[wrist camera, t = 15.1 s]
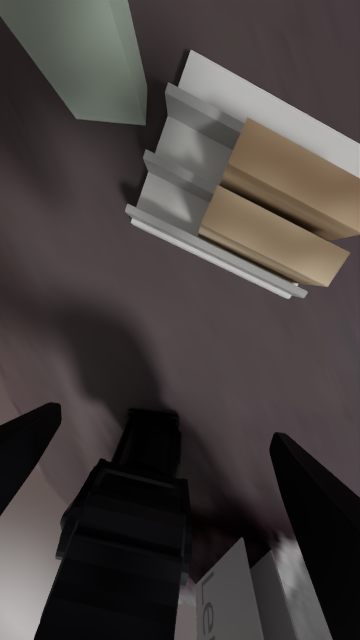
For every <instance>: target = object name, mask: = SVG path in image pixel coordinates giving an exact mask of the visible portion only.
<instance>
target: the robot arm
mask: <svg viewBox="0 0 360 640" xmlns="http://www.w3.org/2000/svg"><path fill="white" fill-rule="evenodd" d="M130 413H132V414H130ZM175 419H176V420H175ZM61 420H62V417H61V405H60V404H59V403H53V402H50V403H47V404H45V405H43V406H41V407H38V408H36V409H34V410H32V411H30V412H28V413H26V414H24V415H21V416H19V417H17V418H15V419H13V420H11V421H9V422H7V423H5V424H2V425H0V516H1V514H2V513H3V511H4V510H5V508H6V507H7V506H8V504H9V503H10V501H11V500H12V499H13V497H14V496H15V494H16V493H17V492H18V490H19V489H20V487H21V486H22V485H23V483H24V482H25V480H26V479H27V477H28V476H29V475H30V473H31V472H32V470H33V469H34V467H35V466H36V464H37V463H38V461H39V460H40V458H41V456H42V455H43V453H44V451H45V450H46V448H47V446H48V445H49V443H50V441H51V439H52V438H53V436H54V434H55V433H56V431H57V429H58V428H59V426H60V424H61ZM178 426H179V416H178V415H176V414H168V413H160V412H153V411H145V410H137V409H128V411H127V413H126V426H125V429H124V431H123V434H122V436H121V439H120V441H119V444H118V446H117V448H116V451H115V453H114V456H113V458H112V461H111V462H109V461H106V460H105V459H101V458H100V460H99V462H98V464H97V465H96V466H94V468H93V470H92V471H91V472H90V474H89V476H88V478H87V480H86V481H85V483H84V485H83V487H82V488H81V490H80V492H79V493H78V495H77V497H76V498H75V499H74V500H73V502H72V503H71V504H70V506H69V507H68V508H67V510H66V511H65V512H64V514H63V516H62V518H61V521H60V525H61V530H62V533H61V536H60V541H59V544H58V548H57V552H56V559H59V560H62V561H61V564H60V566H59V569H58V572H57V575H56V577H55V580H54V583H53V585H52V588H51V591H50V594H49V596H48V599H47V602H46V604H45V607H44V610H43V613H42V616H41V620H40V624H39V626H38V629H37V631H36V634H35V637H34V640H174V633H175V624H176V615H177V607H178V599H179V591H180V588H183V589H184V587H185V585H186V583H187V579H188V574H189V569H190V561H191V551H192V518H191V509H190V500H189V491H188V482H187V479H183V478H182V479H178V475H179V468H180V455H181V432H180V431H178ZM269 451H270V456H271V460H272V464H273V467H274V471H275V475H276V478H277V482H278V486H279V490H280V493H281V497H282V500H283V503H284V506H285V509H286V511H287V514H288V517H289V520H290V523H291V525H292V528H293V531H294V534H295V536H296V539H297V542H298V545H299V548H300V550H301V553H302V556H303V559H304V561H305V564H306V567H307V570H308V572H309V575H310V578H311V581H312V584H313V586H314V589H315V592H316V595H317V597H318V600H319V603H320V606H321V609H322V611H323V614H324V617H325V620H326V622H327V625H328V628H329V631H330V633H331V636H332V639H333V640H360V497H358V496H357V495H356V494H355V493H354V492H353V491H352V490H350V489H349V488H348V487H347V486H346V485H345V484H343V483H342V482H341V481H340V480H339V479H338V478H337V477H335V476H334V475H333V474H332V473H331V472H330V471H328V470H327V469H326V468H325V467H324V466H323V465H322V464H320V463H319V462H318V461H317V460H316V459H315V458H313V457H312V456H311V455H310V454H309V453H308V452H306V451H305V450H304V449H303V448H302V447H301V446H300V445H298V444H297V443H296V442H295V441H294V440H293V439H291V438H290V437H289V436H288V435H287V434H285V433H280V432H275V433H274V435H273V438H272V441H271V444H270V449H269Z"/></svg>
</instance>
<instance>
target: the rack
mask: <svg viewBox="0 0 360 640" xmlns="http://www.w3.org/2000/svg"><path fill="white" fill-rule="evenodd" d="M165 97H166V105H167V112H168V117H167V120H166V123H165V126H164V129H163V131H162V134H161V137H160V140H159V143H158V146H157V149H156V152H155V154H154V153H152V152H150V151H149V150H147V149H146V150H145V153H144V156H143V160H144V162H145V164H146V167H147V169H148V175H147V177H146V180H145V183H144V186H143V189H142V192H141V195H140V198H139V200H138V203H137V206H136V207H134V206H131V205H129V204H127V207H126V210H125V212H126V213H127V214H128V215H129V216H130V217H132V221H131V223H132V224H133V225H134V226H136V227H138V228H141V229H143V230H145V231H147V232H149V233H151V234H153V235H155V236H157V237H159V238H161V239H163V240H165V241H168V242H170V243H172V244H174V245H176V246H178V247H180V248H182V249H184V250H186V251H188V252H190V253H192V254H195V255H197V256H199V257H201V258H203V259H205V260H207V261H209V262H211V263H213V264H215V265H217V266H219V267H222V268H224V269H226V270H228V271H230V272H232V273H234V274H236V275H238V276H240V277H242V278H244V279H246V280H249V281H251V282H253V283H255V284H257V285H259V286H261V287H263V288H265V289H267V290H269V291H271V292H273V293H276V294H278V295H280V296H282V297H284V298H287V299H290V297H291V295H292V296H297V297H301V298H304V297H305V296H306V294H307V293H308V292H307V291H305V290H303V289H301V288H299V287H297V286H298V283H292V282H290V281H288V280H286V279H284V278H282V277H280V276H278V275H276V274H274V273H272V272H270V271H268V270H266V269H264V268H262V267H260V266H258V265H256V264H254V263H252V262H250V261H247V260H245V259H243V258H241V257H239V256H237V255H235V254H233V253H231V252H229V251H227V250H225V249H223V248H221V247H219V246H217V245H215V244H213V243H211V242H209V241H207V240H205V239H203V238H200V237H198V232H199V228H200V224H201V222H202V220H203V217H204V215H205V213H206V211H207V208H208V206H209V204H210V202H211V199H212V197H213V195H214V192H215V190H216V188H217V186H218V185H220V182H221V180H222V177H223V174H224V171H225V168H226V166H227V163H228V161H229V158H230V156H231V154H232V152H233V149H234V147H235V145H236V142H237V140H238V138H239V136H240V133H241V131H242V129H243V127H244V124H245V122H246V120H247V118H250V119H252V120H254V121H256V122H257V123H259V124H261V125H263V126H265V127H267V128H268V129H270V130H272V131H274V132H276V133H278V134H279V135H281V136H283V137H285V138H287V139H289V140H290V141H292V142H294V143H296V144H298V145H300V146H301V147H303V148H305V149H307V150H309V151H311V152H312V153H314V154H316V155H318V156H320V157H322V158H323V159H325V160H327V161H329V162H331V163H333V164H334V165H336V166H338V167H340V168H342V169H344V170H345V171H347V172H349V173H351V174H353V175H355V176H356V177H358V178H360V144H359V143H357V142H355V141H353V140H352V139H350V138H348V137H346V136H344V135H343V134H341V133H339V132H337V131H335V130H334V129H332V128H330V127H328V126H327V125H325V124H323V123H321V122H319V121H318V120H316V119H314V118H312V117H310V116H309V115H307V114H305V113H303V112H302V111H300V110H298V109H296V108H294V107H293V106H291V105H289V104H287V103H285V102H284V101H282V100H280V99H278V98H277V97H275V96H273V95H271V94H269V93H268V92H266V91H264V90H262V89H260V88H259V87H257V86H255V85H253V84H252V83H250V82H248V81H246V80H244V79H243V78H241V77H239V76H237V75H235V74H234V73H232V72H230V71H228V70H227V69H225V68H223V67H221V66H219V65H218V64H216V63H214V62H212V61H210V60H209V59H207V58H205V57H203V56H202V55H200V54H198V53H196V52H194V51H193V50H191V51H190V54H189V57H188V60H187V62H186V65H185V68H184V71H183V74H182V77H181V80H180V83H179V85H178V87H176V86H175V85H173V84H171V83H169V82H168V84H167V87H166V90H165Z"/></svg>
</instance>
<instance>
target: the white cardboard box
mask: <svg viewBox="0 0 360 640" xmlns="http://www.w3.org/2000/svg"><path fill="white" fill-rule="evenodd" d="M196 613H197V640H299V639H298V636H297V633H296V629H295V626H294V623H293V619H292V616H291V613H290V609H289V606H288V602H287V599H286V596H285V592H284V589H283V586H282V582H281V579H280V576H279V572H278V569H277V566H276V562H275V559H274V556H273V552H272V550H270V551H269V552H268V553H267V554H266V555H265V556H264V557H262V558H261V559H260V560H259V561H258V562H257V563H256V564H255V565H254V566H253V567H252V568H251V569H249V564H248V559H247V554H246V549H245V544H244V539H243V538H240V539H239V540H238V541H237V542H236V543H235V544H234V545H233V547H232V548H231V549H230V550H229V551H228V552H227V553H226V554H225V555H224V556H223V557H222V558H221V559H220V560H219V561H218V562H217V563H216V564H215V565H214V566H213V567H212V568H211V569H210V570H209V571H208V572H207V573H206V574H205V576H204V577H203V578H202V579H201V580H200V581H199V582H198V583H197V584H196Z"/></svg>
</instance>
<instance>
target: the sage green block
mask: <svg viewBox="0 0 360 640" xmlns="http://www.w3.org/2000/svg"><path fill="white" fill-rule="evenodd" d="M0 17H1V18H2V19H3V21H4V22H5V23H6V25H7V26H8V27H9V29H10V30H11V31H12V33H13V34H14V35H15V37H16V38H17V39H18V41H19V42H20V44H21V45H22V46H23V48H24V49H25V50H26V52H27V53H28V54H29V56H30V57H31V58H32V60H33V61H34V62H35V64H36V65H37V66H38V68H39V69H40V71H41V72H42V73H43V75H44V76H45V77H46V79H47V80H48V81H49V83H50V84H51V85H52V87H53V88H54V89H55V91H56V92H57V93H58V95H59V96H60V97H61V99H62V100H63V102H64V103H65V104H66V106H67V107H68V108H69V110H70V111H71V112H72V114H73V115H74V116H75V118H76V119H82V120H92V121H103V122H113V123H124V124H134V125H145V126H146V109H147V84H146V79H145V75H144V70H143V66H142V62H141V57H140V53H139V48H138V44H137V40H136V35H135V31H134V26H133V22H132V18H131V13H130V9H129V4H128V0H0Z"/></svg>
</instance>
